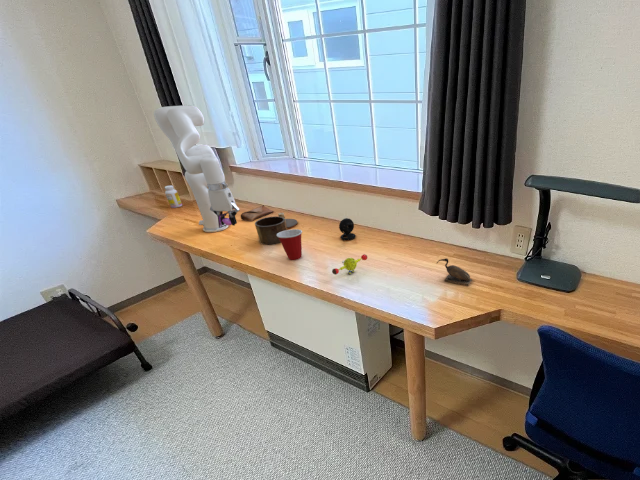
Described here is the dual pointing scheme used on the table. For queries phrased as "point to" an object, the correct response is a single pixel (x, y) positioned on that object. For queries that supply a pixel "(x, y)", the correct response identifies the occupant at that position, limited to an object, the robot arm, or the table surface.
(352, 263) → the toy figure
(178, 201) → the supplement bottle
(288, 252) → the plastic cup
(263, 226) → the basket
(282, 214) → the basket lid
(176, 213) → the table surface
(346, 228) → the webcam
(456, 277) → the figurine
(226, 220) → the purple toy package
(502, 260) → the table surface
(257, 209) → the sunglasses case
